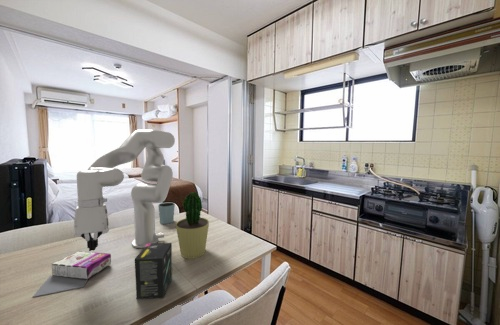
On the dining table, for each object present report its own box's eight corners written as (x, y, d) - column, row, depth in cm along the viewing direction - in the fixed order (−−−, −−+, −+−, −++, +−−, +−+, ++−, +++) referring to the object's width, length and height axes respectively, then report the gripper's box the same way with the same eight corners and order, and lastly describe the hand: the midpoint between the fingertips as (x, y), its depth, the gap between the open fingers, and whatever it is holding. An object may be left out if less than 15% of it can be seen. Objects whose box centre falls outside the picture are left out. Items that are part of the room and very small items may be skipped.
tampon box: (148, 279, 81) (147, 242, 79) (172, 278, 81) (172, 242, 80) (135, 300, 70) (133, 258, 68) (163, 298, 70) (162, 257, 69)
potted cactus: (195, 241, 112) (194, 186, 109) (215, 250, 103) (215, 190, 100) (169, 253, 99) (168, 191, 97) (190, 264, 90) (189, 197, 88)
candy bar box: (111, 264, 89) (79, 261, 92) (111, 253, 89) (79, 250, 92) (86, 280, 78) (51, 275, 81) (86, 267, 78) (50, 263, 81)
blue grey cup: (155, 223, 136) (155, 205, 135) (164, 218, 146) (163, 201, 145) (169, 225, 134) (169, 206, 133) (177, 219, 144) (177, 202, 143)
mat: (93, 268, 86) (93, 268, 86) (83, 287, 75) (83, 286, 75) (50, 276, 81) (50, 275, 81) (32, 297, 70) (32, 296, 70)
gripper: (115, 198, 85) (117, 241, 87) (69, 201, 80) (72, 248, 81) (111, 203, 79) (113, 250, 80) (61, 207, 73) (64, 257, 74)
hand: (92, 248), depth 81 cm, fingers closed
